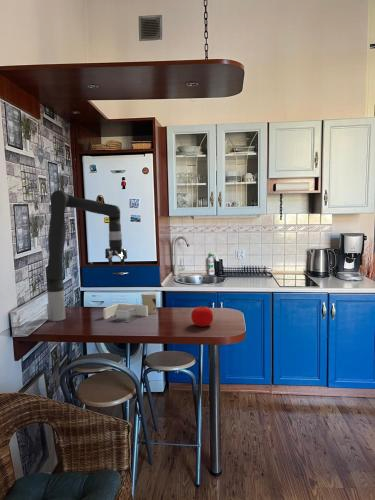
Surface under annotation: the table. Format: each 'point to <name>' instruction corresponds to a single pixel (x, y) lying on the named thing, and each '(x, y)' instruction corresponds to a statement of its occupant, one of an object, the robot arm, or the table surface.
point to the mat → (127, 320)
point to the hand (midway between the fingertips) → (116, 265)
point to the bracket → (126, 314)
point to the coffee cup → (149, 301)
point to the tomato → (202, 316)
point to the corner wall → (111, 310)
